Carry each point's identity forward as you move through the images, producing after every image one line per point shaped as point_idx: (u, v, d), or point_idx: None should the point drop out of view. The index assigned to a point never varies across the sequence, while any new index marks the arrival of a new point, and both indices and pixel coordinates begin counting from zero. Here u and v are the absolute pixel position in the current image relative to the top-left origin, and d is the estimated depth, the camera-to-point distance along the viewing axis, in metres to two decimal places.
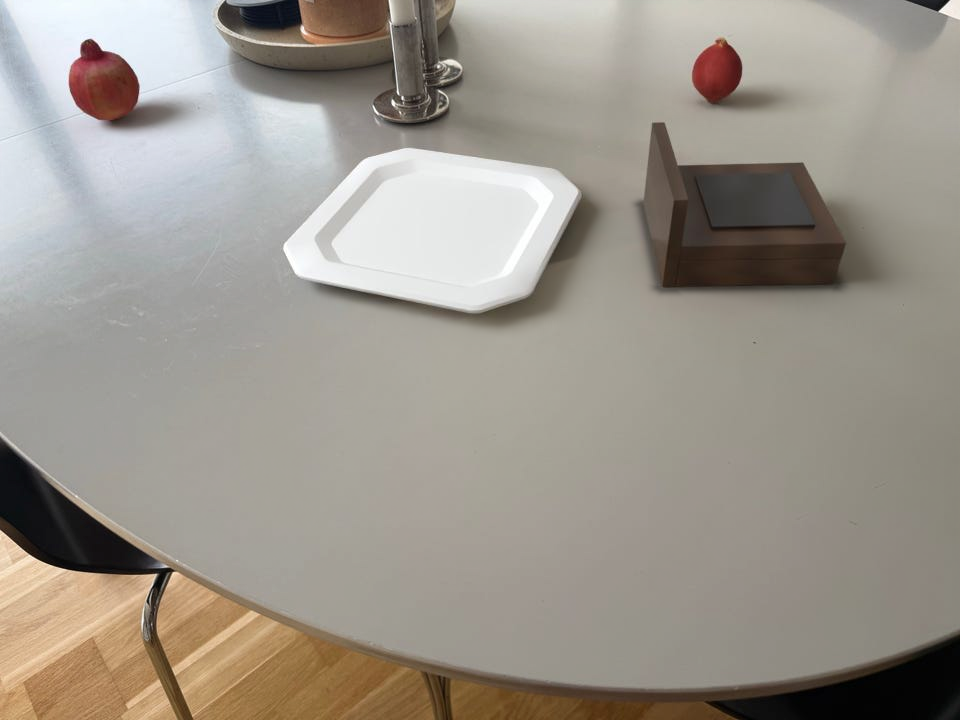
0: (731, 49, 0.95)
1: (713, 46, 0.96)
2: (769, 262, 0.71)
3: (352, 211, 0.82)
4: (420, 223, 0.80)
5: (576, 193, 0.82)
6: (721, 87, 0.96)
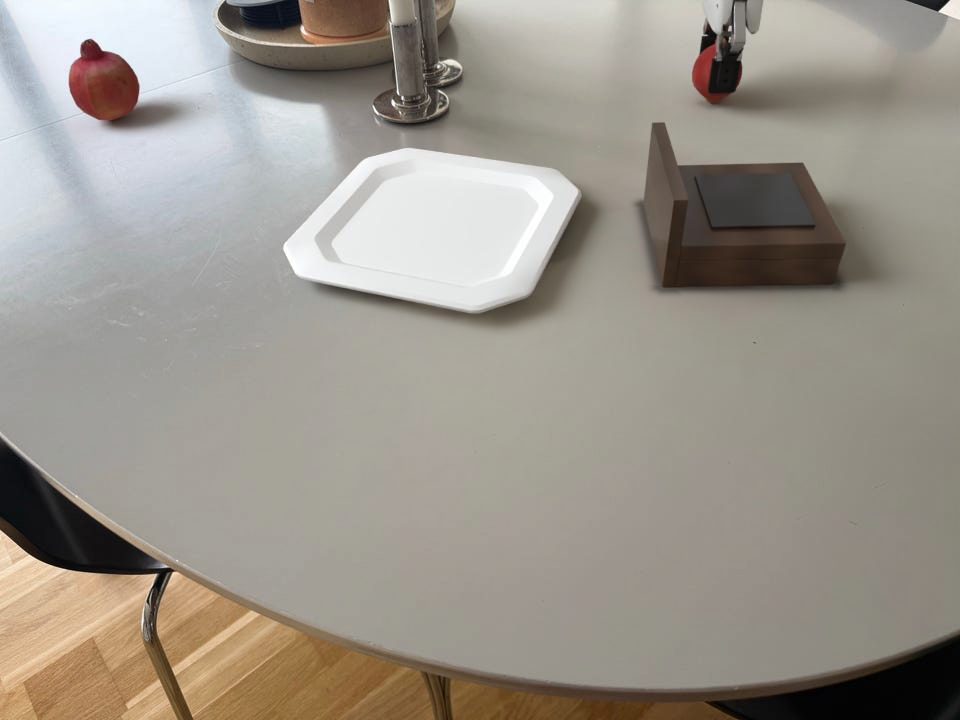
0: None
1: (713, 46, 0.96)
2: (769, 262, 0.71)
3: (352, 211, 0.82)
4: (420, 223, 0.80)
5: (576, 193, 0.82)
6: None
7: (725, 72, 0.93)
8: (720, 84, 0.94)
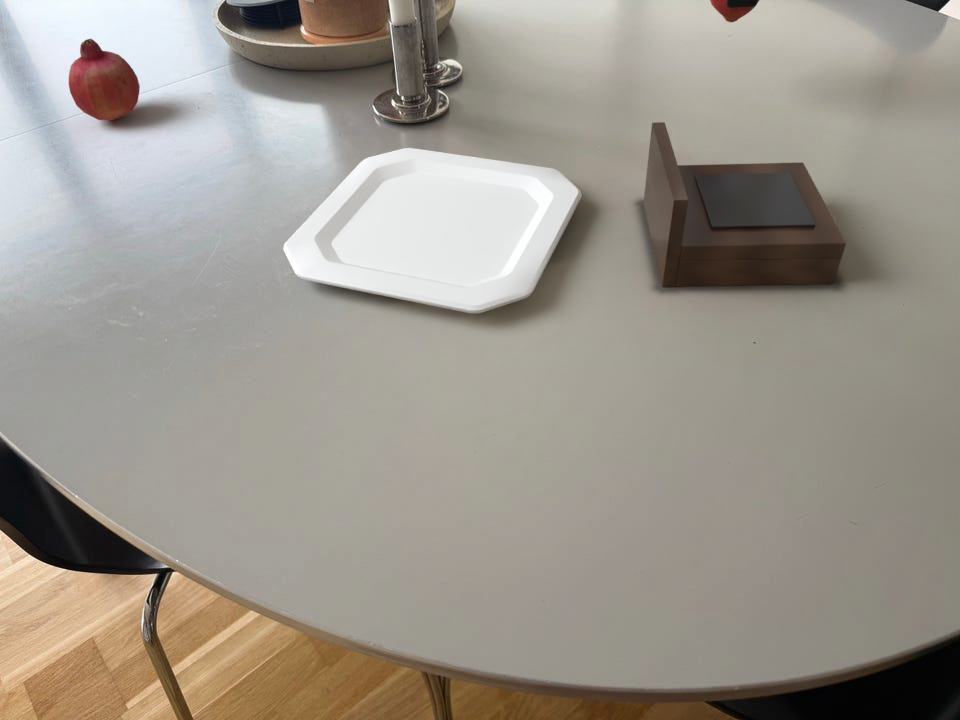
0: None
1: None
2: (769, 262, 0.71)
3: (352, 211, 0.82)
4: (420, 223, 0.80)
5: (576, 193, 0.82)
6: None
7: None
8: None
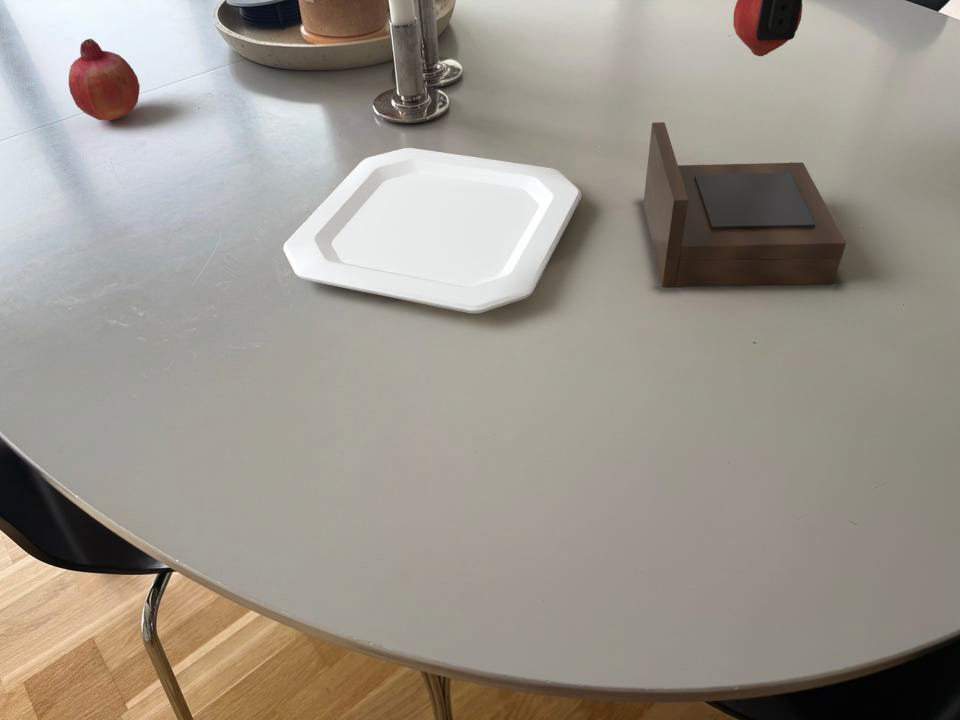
0: None
1: None
2: (769, 262, 0.71)
3: (352, 211, 0.82)
4: (420, 223, 0.80)
5: (576, 193, 0.82)
6: None
7: (781, 10, 0.68)
8: (774, 27, 0.69)
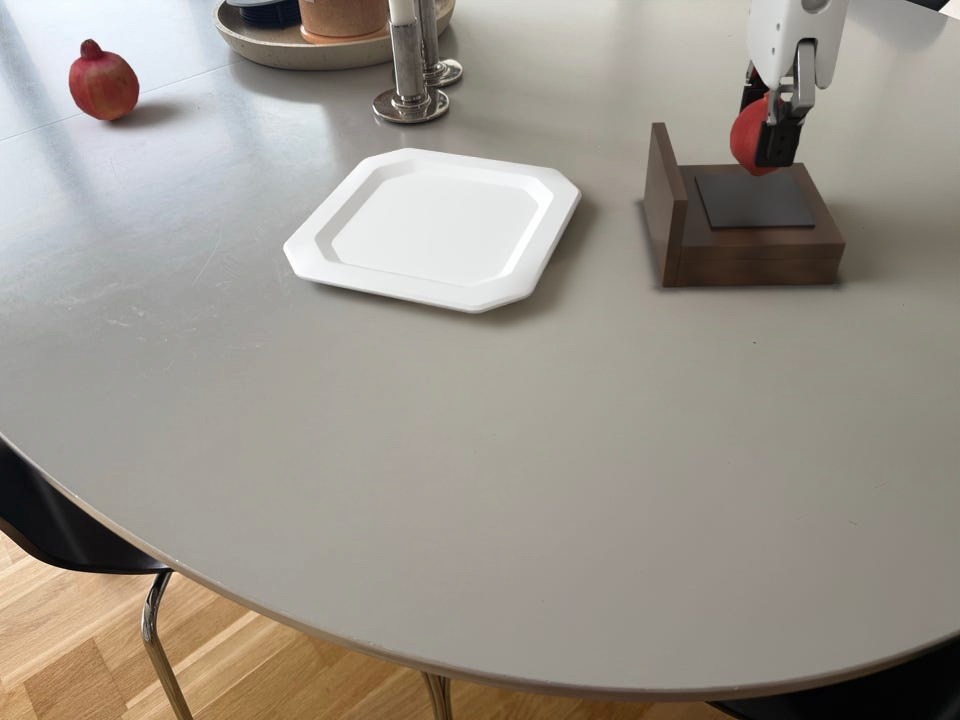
0: None
1: (761, 102, 0.69)
2: (769, 262, 0.71)
3: (352, 211, 0.82)
4: (420, 223, 0.80)
5: (576, 193, 0.82)
6: None
7: (779, 140, 0.67)
8: (772, 156, 0.67)
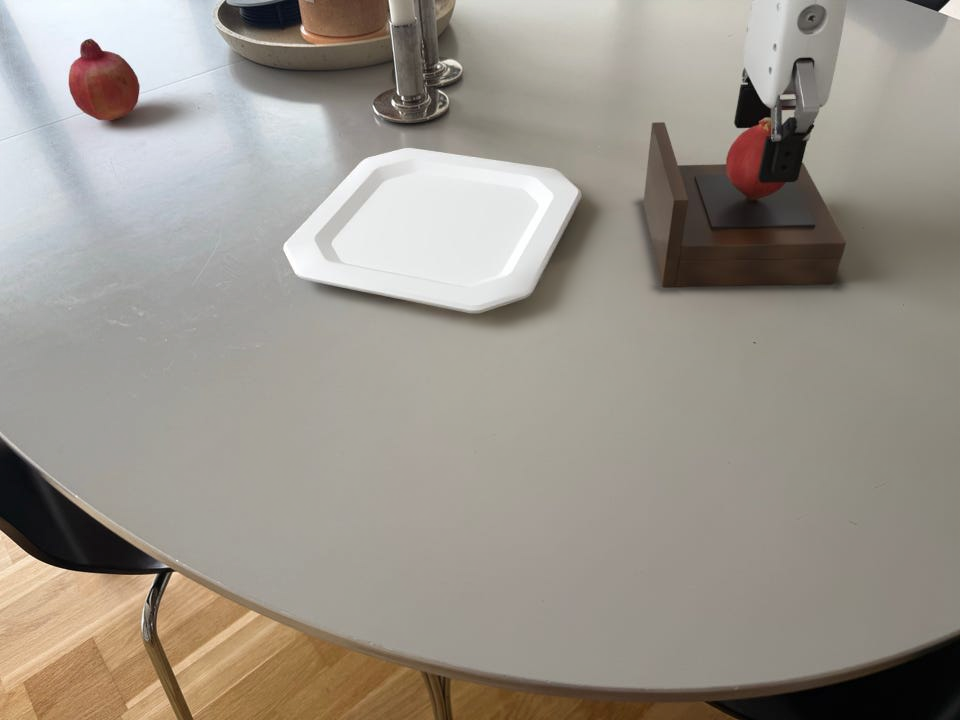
0: None
1: (756, 129, 0.70)
2: (769, 262, 0.71)
3: (352, 211, 0.82)
4: (420, 223, 0.80)
5: (576, 193, 0.82)
6: (766, 184, 0.71)
7: (784, 156, 0.66)
8: (777, 171, 0.67)
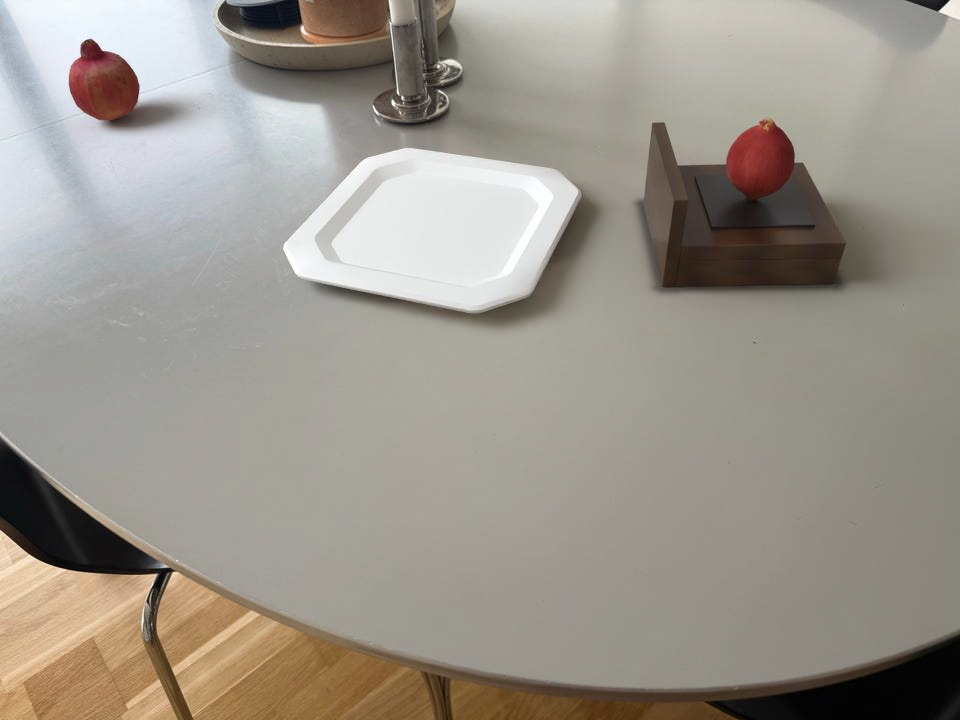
0: (781, 133, 0.70)
1: (756, 129, 0.70)
2: (769, 262, 0.71)
3: (352, 211, 0.82)
4: (420, 223, 0.80)
5: (576, 193, 0.82)
6: (766, 184, 0.71)
7: None
8: None
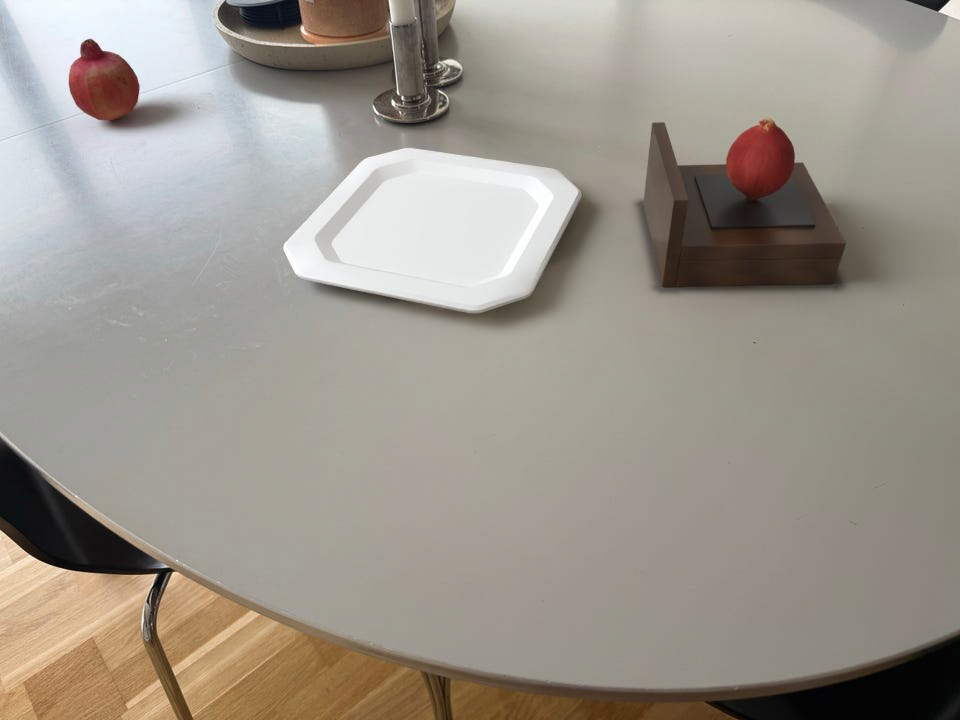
0: (781, 133, 0.70)
1: (756, 129, 0.70)
2: (769, 262, 0.71)
3: (352, 211, 0.82)
4: (420, 223, 0.80)
5: (576, 193, 0.82)
6: (766, 184, 0.71)
7: None
8: None
